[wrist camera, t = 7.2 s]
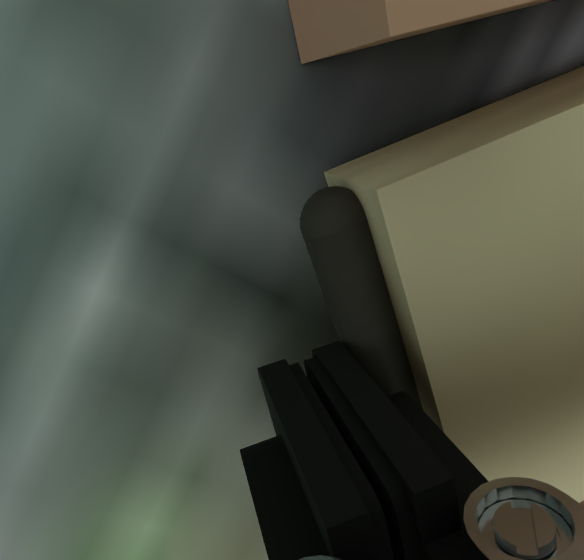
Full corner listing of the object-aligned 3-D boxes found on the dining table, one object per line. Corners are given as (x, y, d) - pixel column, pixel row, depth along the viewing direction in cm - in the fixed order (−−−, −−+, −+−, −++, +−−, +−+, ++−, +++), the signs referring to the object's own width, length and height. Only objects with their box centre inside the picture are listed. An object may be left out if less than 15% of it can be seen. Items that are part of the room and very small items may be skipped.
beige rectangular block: (261, 183, 10) (313, 216, 7) (693, 8, 12) (903, -31, 9) (365, 465, 14) (435, 579, 10) (699, 300, 15) (856, 354, 12)
